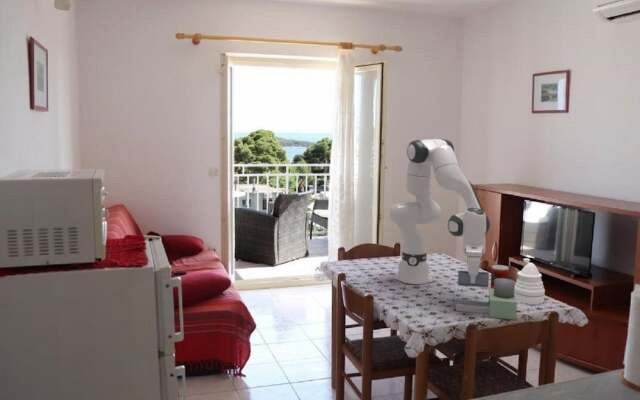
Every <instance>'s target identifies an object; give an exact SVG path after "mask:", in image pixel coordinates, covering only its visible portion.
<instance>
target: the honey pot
mask: <svg viewBox="0 0 640 400" xmlns="http://www.w3.org/2000/svg"><path fill="white" fill-rule="evenodd" d="M530 261H531V259H530V258H523V263H524V264H525V265H524V266H523V268H522V269H521V270H519V271H517V272H516V273H517V276H518V277H517V278H516V281H515V290H514V292H515V296H516V301H519V302H518V303H520V302H523V303H522V304H524V303H529V304H528V305H533V304H535V305H540V304H539V303H542V304H544V303H545V292H546V290H545V287H544V281H542V277H543V275H542V273H540V272H539V270H538V268H537V266H536V264H534V263H533V262H530ZM543 302H544V303H543Z"/></svg>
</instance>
